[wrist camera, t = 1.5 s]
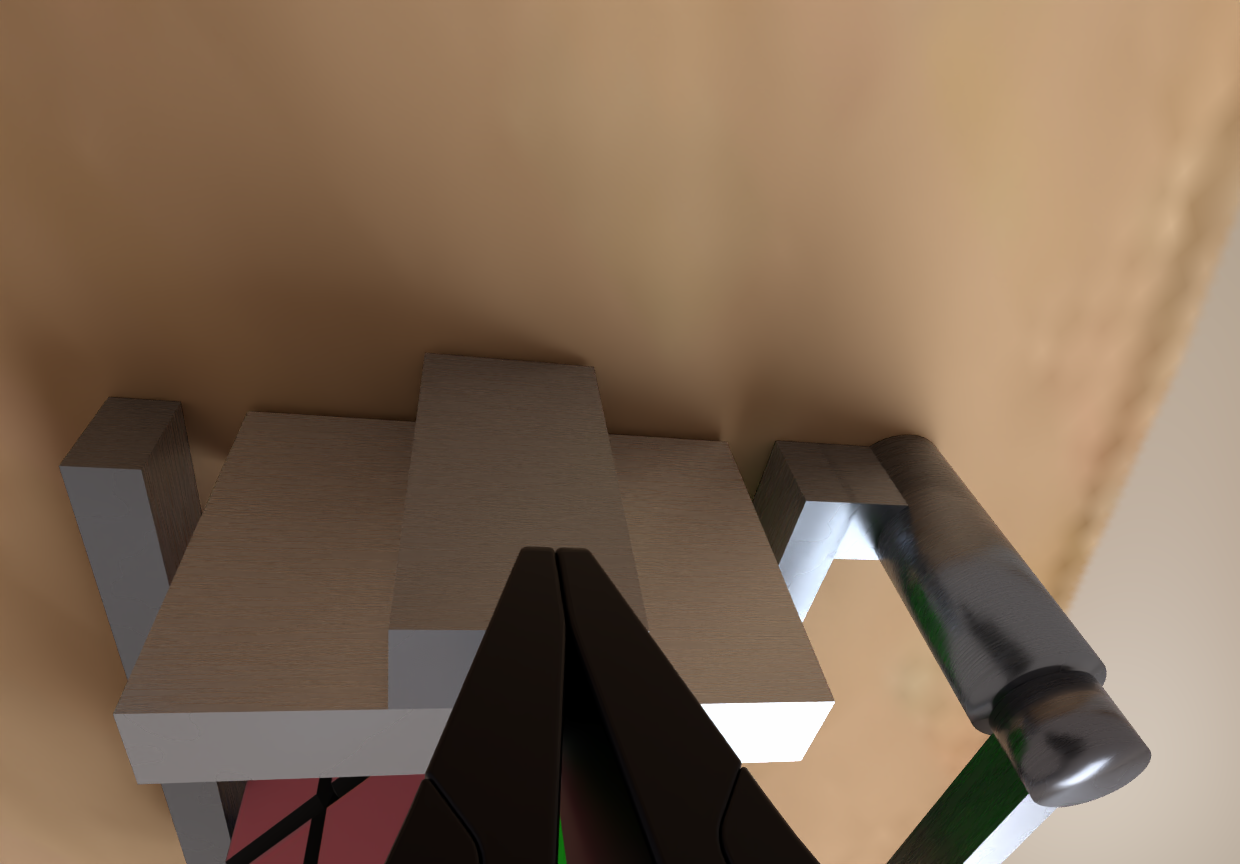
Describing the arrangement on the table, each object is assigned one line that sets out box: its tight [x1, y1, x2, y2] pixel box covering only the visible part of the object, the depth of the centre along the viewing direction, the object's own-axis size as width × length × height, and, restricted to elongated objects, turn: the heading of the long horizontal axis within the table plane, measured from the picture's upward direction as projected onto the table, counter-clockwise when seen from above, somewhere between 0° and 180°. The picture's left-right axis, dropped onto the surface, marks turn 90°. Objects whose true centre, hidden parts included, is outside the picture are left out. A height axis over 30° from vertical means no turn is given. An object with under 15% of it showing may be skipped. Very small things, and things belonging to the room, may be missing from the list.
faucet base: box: [59, 397, 1106, 864], centre depth 22 cm, size 22×22×8 cm
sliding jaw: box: [113, 353, 835, 784], centre depth 16 cm, size 4×12×8 cm, turn 80°
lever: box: [887, 670, 1151, 864], centre depth 18 cm, size 11×2×2 cm, turn 169°
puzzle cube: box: [225, 774, 567, 864], centre depth 22 cm, size 10×10×10 cm
